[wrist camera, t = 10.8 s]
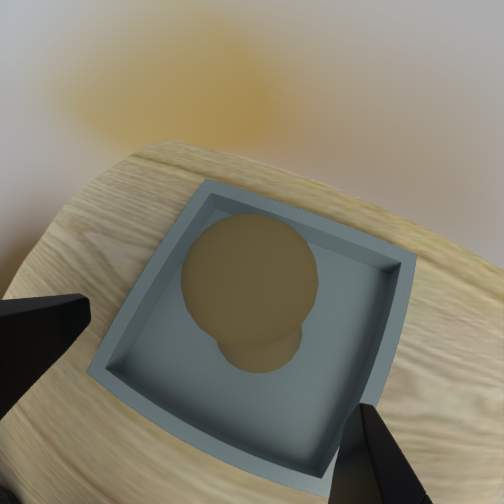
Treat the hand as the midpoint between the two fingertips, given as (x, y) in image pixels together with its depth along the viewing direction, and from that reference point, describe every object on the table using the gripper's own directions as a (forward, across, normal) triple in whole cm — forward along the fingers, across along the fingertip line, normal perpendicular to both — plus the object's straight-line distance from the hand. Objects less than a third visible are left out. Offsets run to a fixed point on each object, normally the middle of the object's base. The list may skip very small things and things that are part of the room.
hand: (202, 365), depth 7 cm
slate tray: (+11, 0, +6) cm, 13 cm away
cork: (+11, 0, +6) cm, 12 cm away
